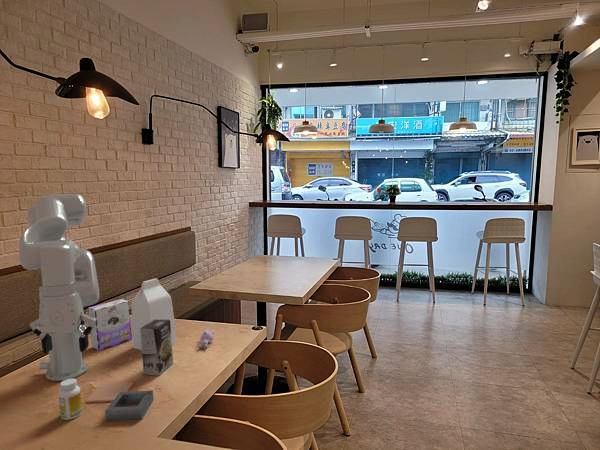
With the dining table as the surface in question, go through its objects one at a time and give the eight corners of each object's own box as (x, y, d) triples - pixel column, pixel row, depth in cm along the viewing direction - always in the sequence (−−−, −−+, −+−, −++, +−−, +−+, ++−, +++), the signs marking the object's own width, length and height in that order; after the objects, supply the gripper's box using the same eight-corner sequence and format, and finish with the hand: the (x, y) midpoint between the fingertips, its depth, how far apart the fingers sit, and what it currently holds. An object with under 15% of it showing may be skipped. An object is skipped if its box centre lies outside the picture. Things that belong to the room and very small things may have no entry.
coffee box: (160, 376, 136) (156, 329, 134) (142, 374, 137) (139, 328, 135) (174, 363, 145) (171, 319, 143) (157, 362, 146) (154, 318, 144)
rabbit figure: (210, 354, 155) (218, 333, 169) (209, 340, 153) (217, 320, 167) (194, 354, 155) (203, 333, 169) (192, 340, 153) (202, 320, 168)
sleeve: (106, 420, 111) (105, 410, 111) (120, 401, 121) (119, 391, 120) (142, 419, 111) (141, 409, 111) (153, 400, 121) (152, 390, 120)
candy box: (125, 336, 171) (122, 298, 169) (132, 339, 167) (129, 300, 166) (91, 347, 161) (87, 306, 159) (98, 351, 157) (94, 309, 155)
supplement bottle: (85, 408, 118) (81, 375, 117) (79, 418, 113) (75, 385, 111) (64, 410, 117) (61, 378, 116) (57, 421, 111) (54, 387, 110)
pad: (86, 402, 121) (85, 400, 121) (101, 385, 131) (101, 383, 130) (120, 401, 121) (120, 399, 121) (133, 384, 131) (133, 382, 131)
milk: (152, 353, 153) (147, 285, 150) (132, 347, 159) (127, 282, 156) (177, 342, 164) (172, 278, 160) (157, 336, 170) (153, 275, 166)
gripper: (18, 295, 107) (25, 358, 109) (85, 292, 107) (91, 355, 109) (35, 287, 114) (42, 346, 116) (98, 284, 115) (104, 343, 116)
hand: (66, 350), depth 112 cm, fingers open, 9 cm apart
